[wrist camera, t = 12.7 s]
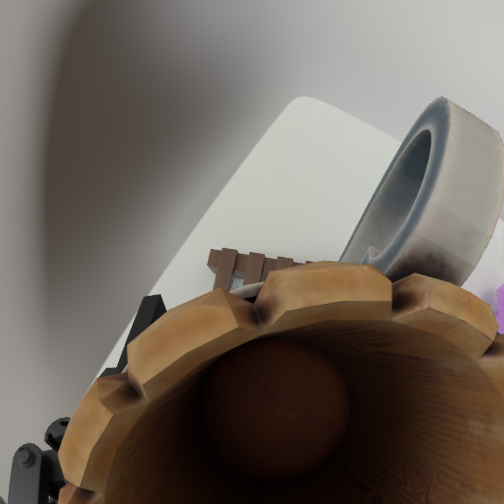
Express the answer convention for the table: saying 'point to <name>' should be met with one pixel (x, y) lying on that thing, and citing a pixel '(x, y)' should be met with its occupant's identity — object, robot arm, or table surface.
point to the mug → (325, 362)
